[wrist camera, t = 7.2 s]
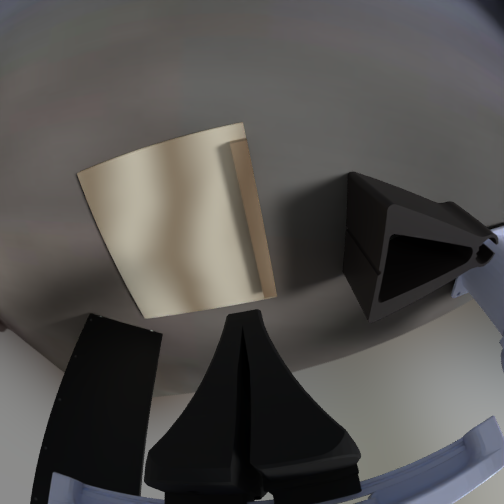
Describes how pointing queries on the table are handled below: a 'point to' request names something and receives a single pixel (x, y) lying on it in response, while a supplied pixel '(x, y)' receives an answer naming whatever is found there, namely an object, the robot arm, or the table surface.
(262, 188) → the table surface
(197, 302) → the book stand
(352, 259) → the dark grey open container
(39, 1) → the table surface
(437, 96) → the table surface
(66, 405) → the tissue box
